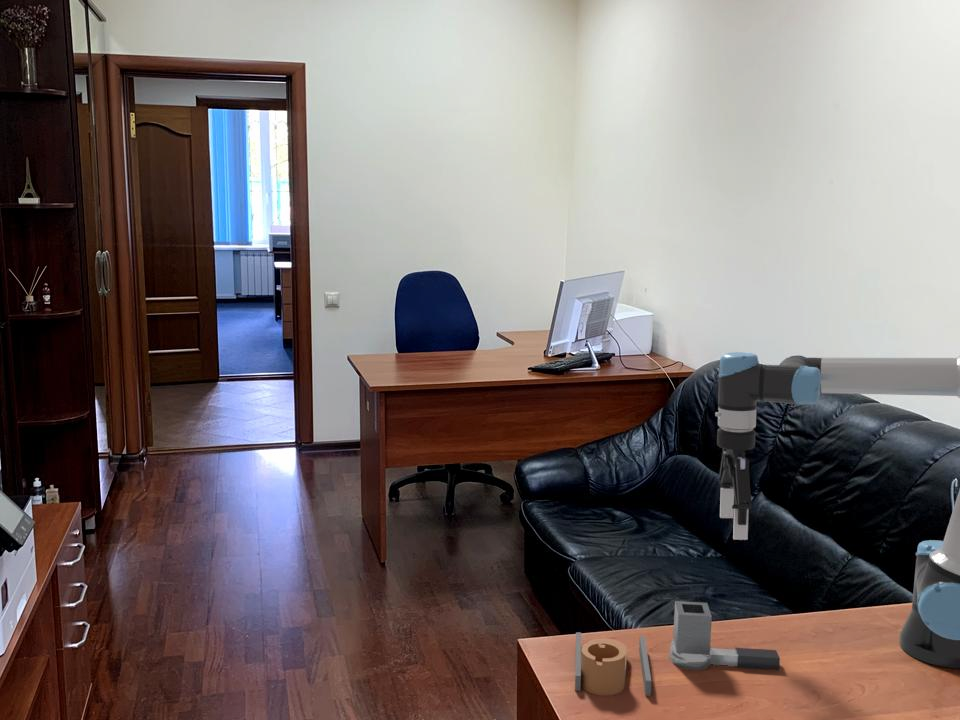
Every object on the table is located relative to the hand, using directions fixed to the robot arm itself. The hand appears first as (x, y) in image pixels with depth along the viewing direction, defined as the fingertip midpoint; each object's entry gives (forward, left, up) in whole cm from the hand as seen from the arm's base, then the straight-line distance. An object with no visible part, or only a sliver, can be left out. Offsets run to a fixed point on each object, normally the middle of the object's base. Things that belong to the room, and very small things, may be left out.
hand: (733, 528), depth 183 cm
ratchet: (+2, +11, -24) cm, 27 cm away
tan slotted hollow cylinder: (+26, +18, -25) cm, 40 cm away
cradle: (+25, +17, -24) cm, 39 cm away
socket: (+9, +11, -21) cm, 26 cm away
